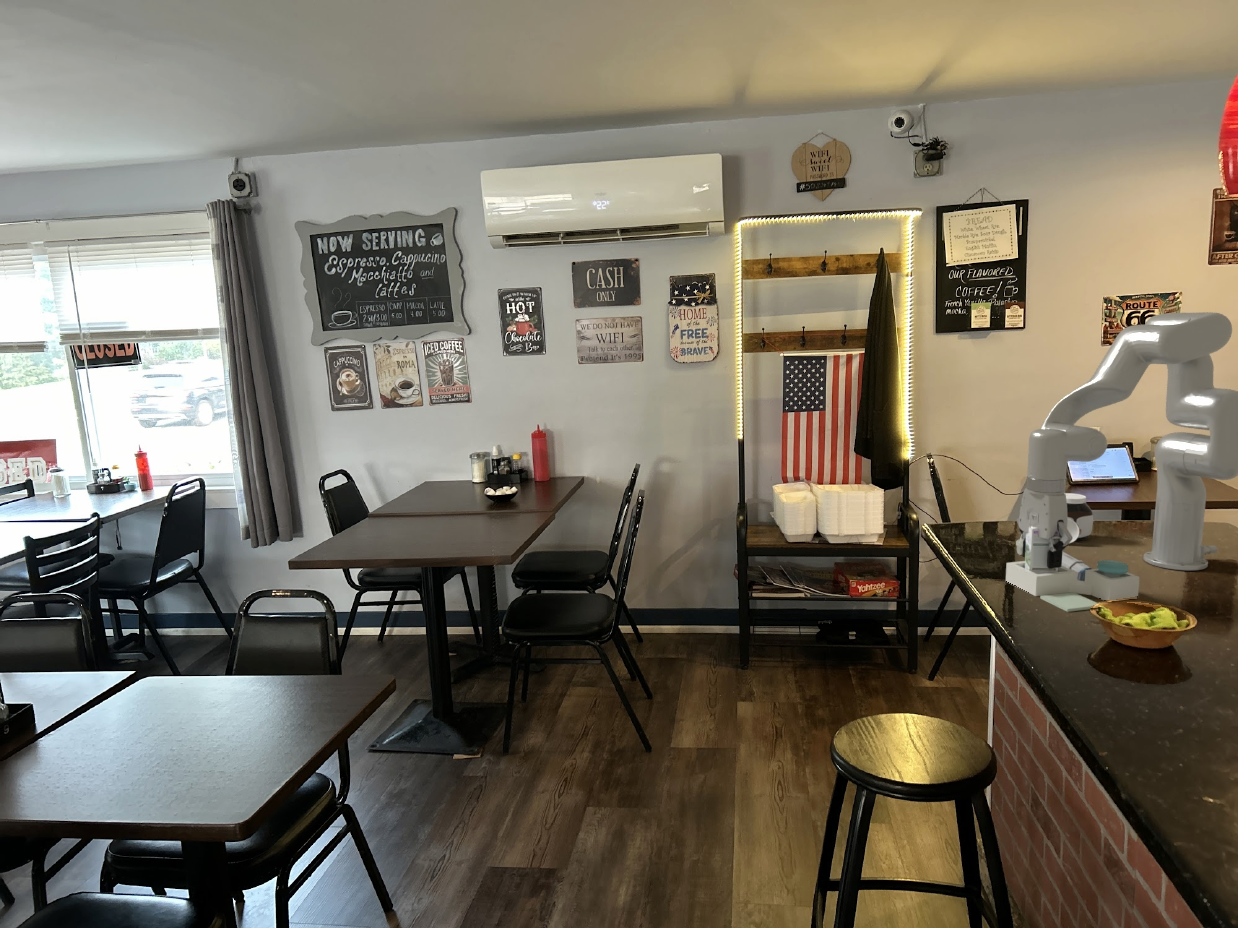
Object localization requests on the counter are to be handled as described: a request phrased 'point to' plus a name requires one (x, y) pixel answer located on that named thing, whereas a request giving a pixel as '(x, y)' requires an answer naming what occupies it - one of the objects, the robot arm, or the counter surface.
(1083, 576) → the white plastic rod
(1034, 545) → the syrup box
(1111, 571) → the teal mushroom knob
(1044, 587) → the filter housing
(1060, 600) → the mat
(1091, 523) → the spread jar
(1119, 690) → the counter surface
